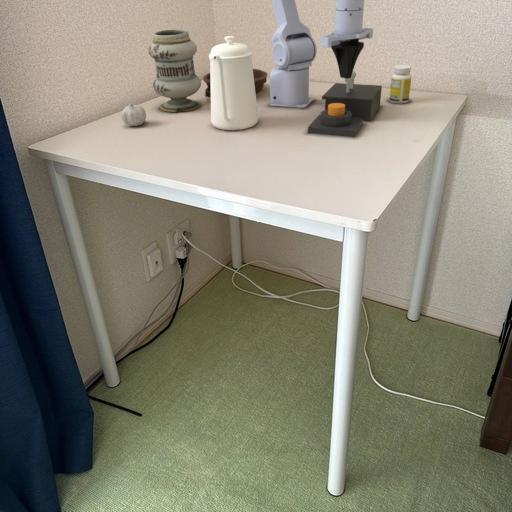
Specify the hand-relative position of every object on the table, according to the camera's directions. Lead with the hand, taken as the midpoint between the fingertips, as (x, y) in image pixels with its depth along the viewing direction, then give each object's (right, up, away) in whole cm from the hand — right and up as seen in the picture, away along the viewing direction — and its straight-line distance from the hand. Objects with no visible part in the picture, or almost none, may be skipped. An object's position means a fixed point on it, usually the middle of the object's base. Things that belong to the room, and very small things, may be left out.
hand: (345, 77), depth 108 cm
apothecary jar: (-40, -1, +19) cm, 44 cm away
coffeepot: (-25, -10, +4) cm, 27 cm away
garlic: (-48, -9, +7) cm, 50 cm away
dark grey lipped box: (+3, -5, +9) cm, 11 cm away
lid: (+3, -2, +6) cm, 7 cm away
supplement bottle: (+16, -1, +15) cm, 22 cm away
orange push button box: (-2, -12, -1) cm, 12 cm away
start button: (-3, -9, -3) cm, 10 cm away
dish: (-25, +6, +28) cm, 38 cm away
